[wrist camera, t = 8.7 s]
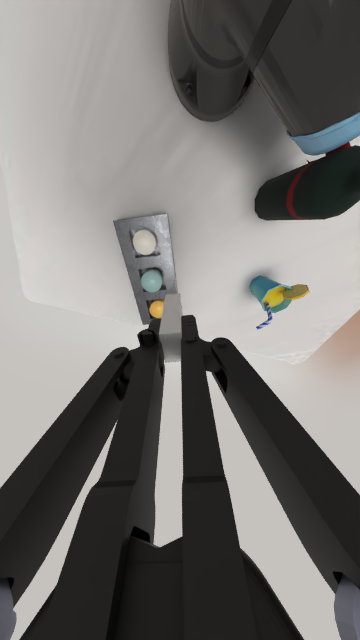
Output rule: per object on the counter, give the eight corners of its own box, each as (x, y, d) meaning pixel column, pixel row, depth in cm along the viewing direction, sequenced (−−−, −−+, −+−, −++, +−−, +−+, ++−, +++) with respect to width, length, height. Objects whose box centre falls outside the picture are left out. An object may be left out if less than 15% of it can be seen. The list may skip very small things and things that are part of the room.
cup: (246, 309, 52) (268, 338, 39) (230, 296, 49) (248, 322, 36) (284, 276, 46) (324, 298, 33) (268, 259, 43) (305, 275, 31)
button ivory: (133, 230, 38) (130, 231, 35) (154, 228, 38) (153, 228, 35) (139, 253, 41) (136, 256, 38) (158, 251, 40) (157, 253, 37)
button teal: (141, 269, 41) (138, 273, 38) (160, 267, 41) (159, 271, 38) (145, 288, 44) (143, 293, 41) (164, 286, 44) (163, 291, 41)
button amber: (149, 298, 48) (147, 303, 45) (166, 296, 47) (165, 301, 44) (153, 313, 50) (151, 318, 47) (169, 311, 50) (168, 317, 47)
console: (118, 220, 38) (113, 220, 35) (167, 214, 37) (166, 213, 34) (145, 318, 53) (142, 324, 50) (180, 314, 52) (180, 320, 49)
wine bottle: (306, 181, 34) (660, 73, 9) (270, 227, 39) (439, 240, 14) (282, 155, 32) (665, -84, 7) (247, 207, 37) (398, 178, 12)
